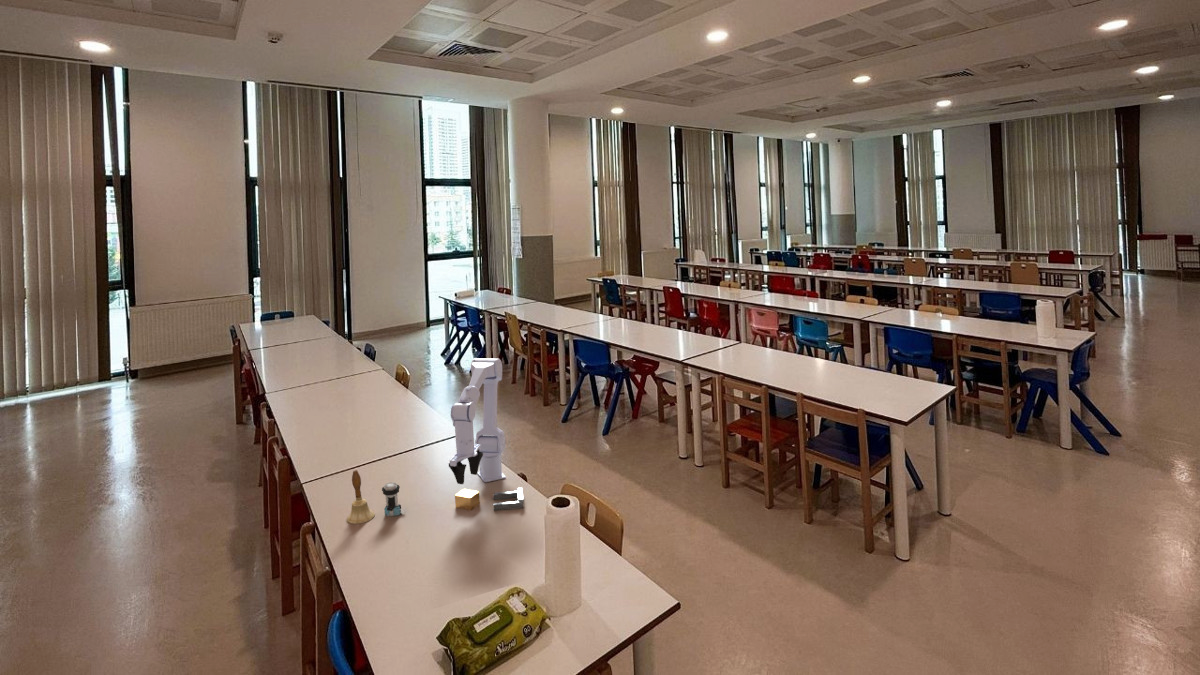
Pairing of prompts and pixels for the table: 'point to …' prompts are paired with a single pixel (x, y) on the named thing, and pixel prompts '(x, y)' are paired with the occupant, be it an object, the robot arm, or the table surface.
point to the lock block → (467, 499)
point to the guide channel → (509, 495)
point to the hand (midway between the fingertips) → (467, 478)
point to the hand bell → (359, 504)
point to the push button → (392, 499)
